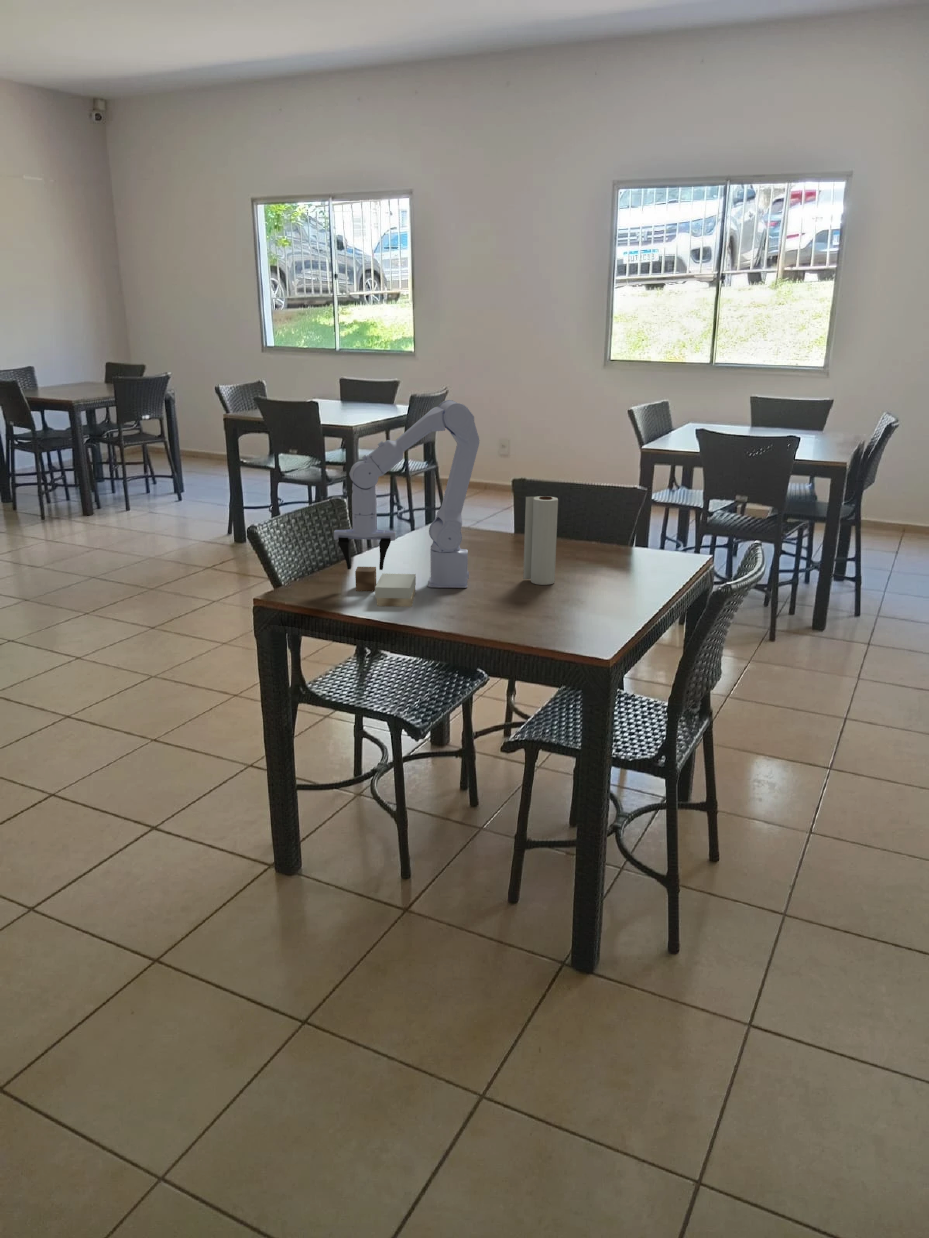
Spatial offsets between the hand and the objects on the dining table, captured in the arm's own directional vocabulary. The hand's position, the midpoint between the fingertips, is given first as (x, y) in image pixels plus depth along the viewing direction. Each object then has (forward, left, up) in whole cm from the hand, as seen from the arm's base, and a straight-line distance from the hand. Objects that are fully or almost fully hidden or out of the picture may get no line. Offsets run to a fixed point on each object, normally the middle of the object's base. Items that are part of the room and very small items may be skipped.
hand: (365, 568), depth 222 cm
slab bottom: (-8, +8, -6) cm, 13 cm away
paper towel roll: (-43, -8, -5) cm, 44 cm away
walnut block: (0, 0, -5) cm, 5 cm away
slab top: (-8, +8, -3) cm, 12 cm away
